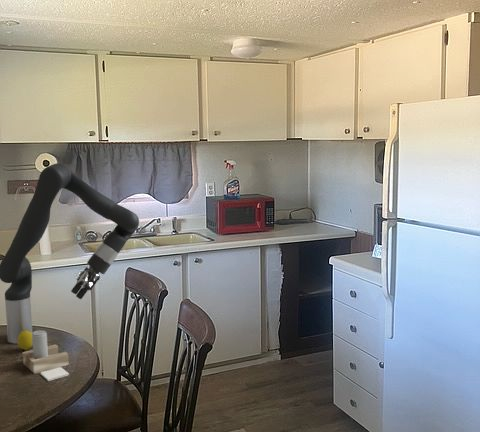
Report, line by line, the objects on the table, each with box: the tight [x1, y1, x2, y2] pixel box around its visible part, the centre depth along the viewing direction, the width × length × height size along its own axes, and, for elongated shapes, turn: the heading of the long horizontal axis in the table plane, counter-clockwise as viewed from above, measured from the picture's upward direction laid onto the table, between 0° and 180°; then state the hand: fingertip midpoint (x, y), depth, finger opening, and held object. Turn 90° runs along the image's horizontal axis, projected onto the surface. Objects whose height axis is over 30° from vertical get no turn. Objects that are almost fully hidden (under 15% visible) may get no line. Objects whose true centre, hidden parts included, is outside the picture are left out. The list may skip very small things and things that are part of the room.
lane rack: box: [21, 344, 70, 375], centre depth 192 cm, size 12×12×4 cm
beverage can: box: [32, 329, 49, 359], centre depth 190 cm, size 5×5×12 cm
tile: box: [40, 367, 70, 382], centre depth 183 cm, size 7×7×1 cm
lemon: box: [17, 330, 33, 351], centre depth 204 cm, size 6×6×8 cm
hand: (75, 295), depth 195 cm, fingers open, 8 cm apart
